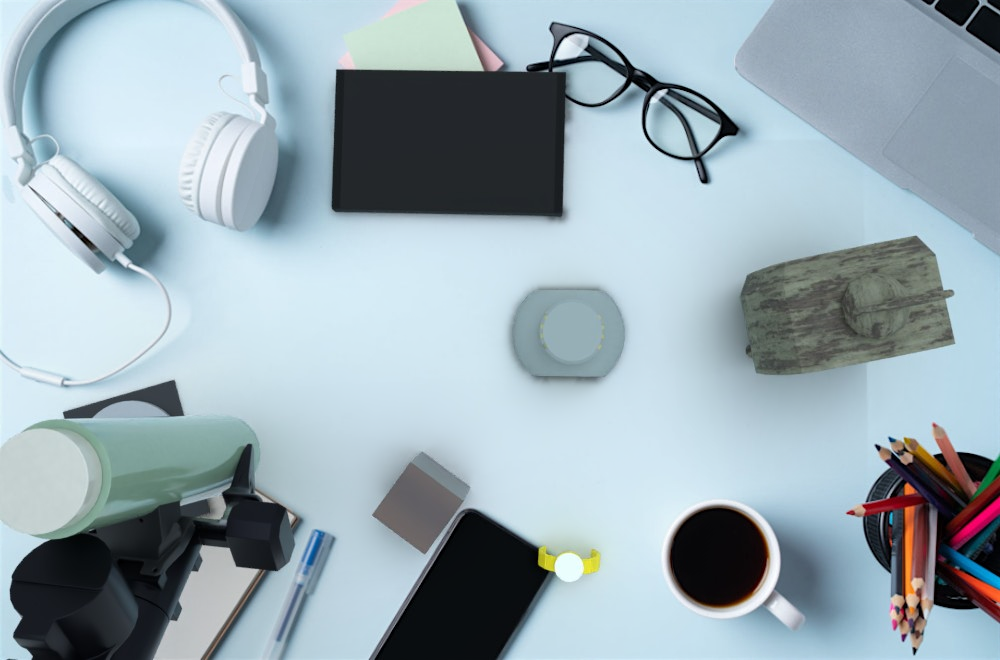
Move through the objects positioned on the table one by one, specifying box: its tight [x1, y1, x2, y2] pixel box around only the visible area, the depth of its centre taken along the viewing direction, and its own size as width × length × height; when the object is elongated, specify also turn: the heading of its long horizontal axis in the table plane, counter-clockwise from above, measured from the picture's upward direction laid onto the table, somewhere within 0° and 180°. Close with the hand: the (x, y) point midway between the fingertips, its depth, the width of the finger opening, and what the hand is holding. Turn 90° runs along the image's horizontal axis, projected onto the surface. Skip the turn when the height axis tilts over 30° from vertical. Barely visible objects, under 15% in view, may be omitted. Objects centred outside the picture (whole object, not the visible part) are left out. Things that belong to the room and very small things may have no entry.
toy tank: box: [739, 235, 956, 376], centre depth 66 cm, size 14×9×25 cm, turn 101°
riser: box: [371, 451, 471, 555], centre depth 75 cm, size 6×6×9 cm
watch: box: [537, 545, 601, 583], centre depth 76 cm, size 6×3×6 cm, turn 87°
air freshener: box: [512, 289, 626, 377], centre depth 75 cm, size 11×8×10 cm
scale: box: [62, 379, 211, 517], centre depth 80 cm, size 14×12×2 cm
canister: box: [0, 414, 261, 540], centre depth 57 cm, size 7×7×26 cm
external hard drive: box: [331, 68, 567, 217], centre depth 79 cm, size 14×23×3 cm, turn 88°
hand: (209, 442), depth 67 cm, fingers closed on canister, 7 cm apart
